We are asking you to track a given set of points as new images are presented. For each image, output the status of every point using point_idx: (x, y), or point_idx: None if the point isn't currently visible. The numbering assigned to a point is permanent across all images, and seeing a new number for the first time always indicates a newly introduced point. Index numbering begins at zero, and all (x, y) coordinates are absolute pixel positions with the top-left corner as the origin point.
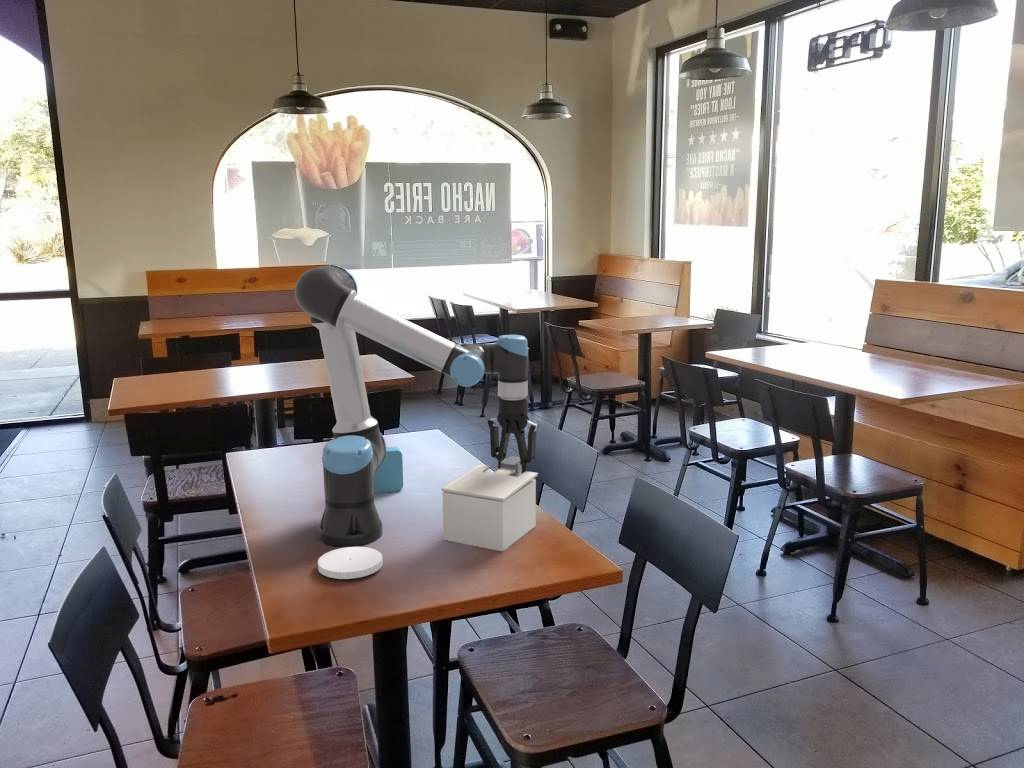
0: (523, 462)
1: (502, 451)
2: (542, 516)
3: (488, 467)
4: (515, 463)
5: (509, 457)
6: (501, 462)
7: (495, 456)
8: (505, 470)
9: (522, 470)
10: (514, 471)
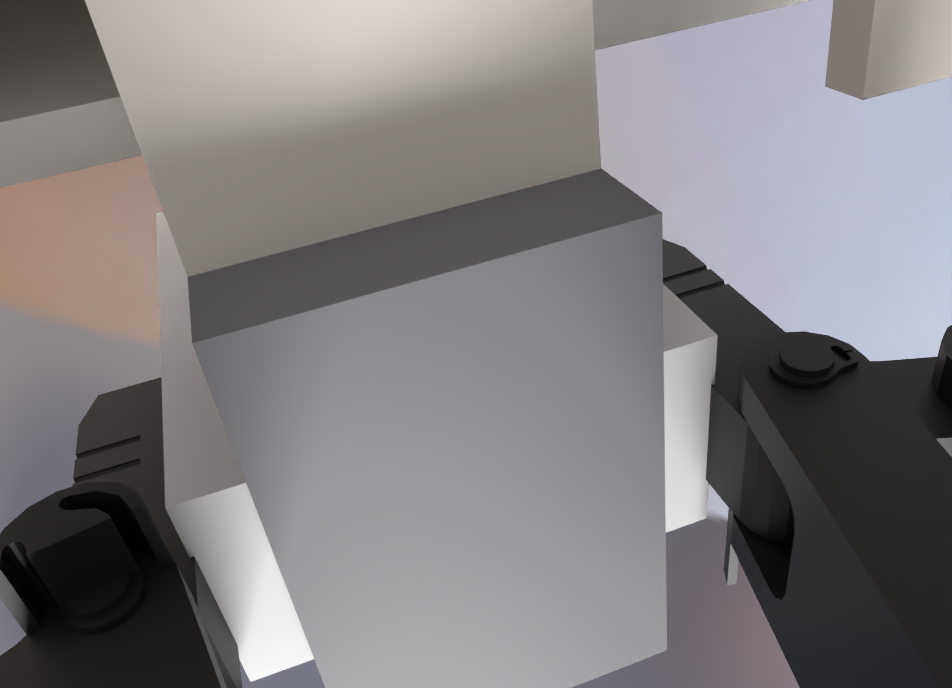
0: (3, 579)
1: (869, 548)
2: (55, 288)
3: (869, 2)
4: (279, 440)
5: (654, 584)
6: (661, 259)
7: (933, 380)
8: (356, 51)
9: (162, 448)
10: (177, 230)
